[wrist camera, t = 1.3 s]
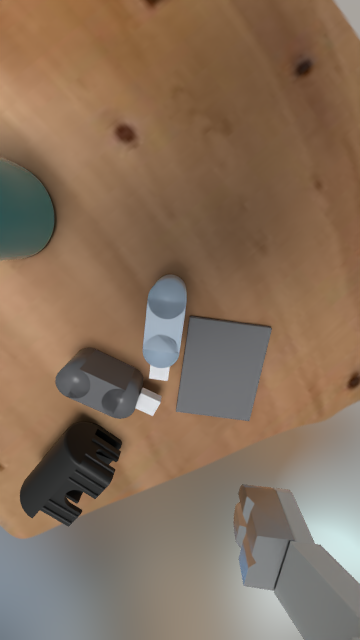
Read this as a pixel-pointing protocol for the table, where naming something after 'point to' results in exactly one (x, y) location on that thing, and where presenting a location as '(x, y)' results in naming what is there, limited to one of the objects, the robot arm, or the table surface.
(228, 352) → the pad
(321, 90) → the table surface
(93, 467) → the end cap
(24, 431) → the table surface
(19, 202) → the cup
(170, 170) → the table surface
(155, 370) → the blue connector
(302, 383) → the table surface
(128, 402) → the dark gray connector
